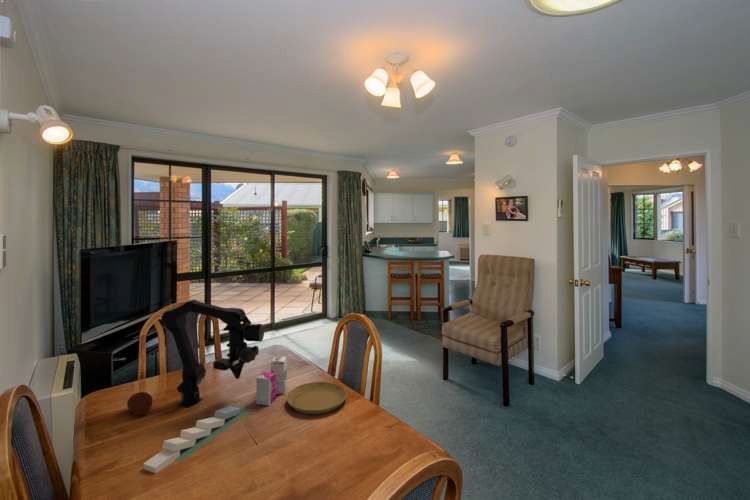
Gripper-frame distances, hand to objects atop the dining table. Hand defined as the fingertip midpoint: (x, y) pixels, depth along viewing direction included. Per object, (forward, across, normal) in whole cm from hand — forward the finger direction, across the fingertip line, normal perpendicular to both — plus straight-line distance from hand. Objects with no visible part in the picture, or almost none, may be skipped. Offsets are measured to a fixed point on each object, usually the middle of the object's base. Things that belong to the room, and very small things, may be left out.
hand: (237, 378), depth 140 cm
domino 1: (+9, -32, -6) cm, 34 cm away
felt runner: (+10, -18, -5) cm, 22 cm away
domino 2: (+9, -27, -5) cm, 29 cm away
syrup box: (+10, +15, -9) cm, 20 cm away
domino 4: (+9, -14, -5) cm, 18 cm away
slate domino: (+9, -6, -5) cm, 12 cm away
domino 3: (+9, -20, -5) cm, 23 cm away
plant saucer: (+11, +14, -29) cm, 34 cm away
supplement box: (+10, +5, -10) cm, 16 cm away
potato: (+11, -20, +30) cm, 37 cm away
